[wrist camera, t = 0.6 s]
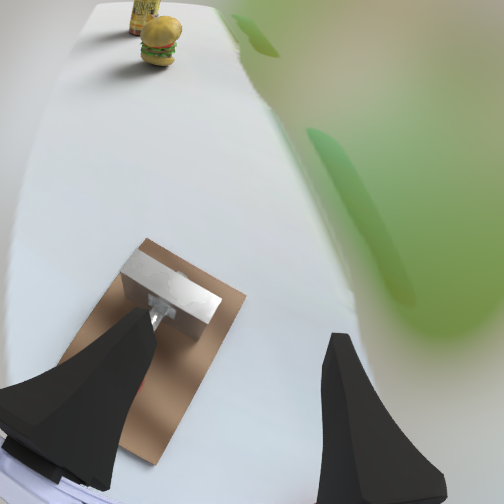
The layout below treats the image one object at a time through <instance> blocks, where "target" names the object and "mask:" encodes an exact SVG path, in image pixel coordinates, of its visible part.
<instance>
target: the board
mask: <svg viewBox="0 0 504 504" xmlns="http://www.w3.org/2000/svg"><path fill="white" fill-rule="evenodd" d="M138 249H139V250H140V251H142V252H143V253H145V254H147V255H148V256H150V257H152V258H153V259H155V260H157V261H158V262H160V263H162V264H163V265H165V266H167V267H168V268H170V269H172V270H173V271H175V272H177V271H179V272H182V273H183V274H185V275H186V276H187V278H188V279H189V280H190V281H192V282H194V283H195V284H197V285H199V286H201V287H202V288H204V289H206V290H208V291H209V292H211V293H213V294H215V295H216V296H218V297H220V298H222V300H221V302H220V304H219V305H218V307H217V309H216V311H215V313H214V314H213V316H212V318H211V320H210V322H209V323H208V325H207V327H206V329H205V331H204V332H203V334H202V336H201V338H200V339H199V341H198V342H197V341H196V340H194V339H192V338H190V337H189V336H187V335H185V334H183V333H182V332H180V331H178V330H176V329H175V328H173V327H171V326H170V325H168V324H166V323H165V322H163V321H161V323H160V324H159V326H158V327H157V329H156V331H155V332H154V333H155V337H156V340H157V346H156V349H155V353H154V356H153V359H152V362H151V364H150V367H149V369H148V371H147V373H146V377H145V383H144V386H143V388H142V390H141V392H140V393H139V394H138V395H137V396H136V397H135V398H134V400H133V403H132V405H131V407H130V409H129V412H128V414H127V417H126V421H125V424H124V427H123V430H122V433H121V437H120V441H119V444H118V445H120V446H122V447H123V448H125V449H127V450H128V451H130V452H132V453H134V454H135V455H137V456H139V457H141V458H143V459H144V460H146V461H148V462H150V463H152V464H154V465H157V463H158V461H159V459H160V457H161V456H162V454H163V452H164V450H165V448H166V447H167V445H168V443H169V441H170V439H171V437H172V436H173V434H174V432H175V430H176V428H177V426H178V425H179V423H180V421H181V419H182V417H183V415H184V413H185V412H186V410H187V408H188V406H189V404H190V402H191V400H192V399H193V397H194V395H195V393H196V391H197V389H198V387H199V386H200V384H201V382H202V380H203V378H204V376H205V374H206V372H207V371H208V369H209V367H210V365H211V363H212V361H213V359H214V357H215V355H216V354H217V352H218V350H219V348H220V346H221V344H222V342H223V340H224V338H225V336H226V335H227V333H228V331H229V329H230V327H231V325H232V323H233V321H234V319H235V317H236V316H237V314H238V312H239V310H240V308H241V306H242V304H243V302H244V300H245V298H246V296H247V295H245V294H243V293H241V292H239V291H238V290H236V289H234V288H232V287H230V286H229V285H227V284H225V283H223V282H222V281H220V280H218V279H216V278H215V277H213V276H211V275H209V274H208V273H206V272H204V271H202V270H201V269H199V268H197V267H195V266H194V265H192V264H190V263H189V262H187V261H185V260H183V259H182V258H180V257H178V256H177V255H175V254H173V253H171V252H170V251H168V250H166V249H165V248H163V247H161V246H160V245H158V244H156V243H155V242H153V241H151V240H150V239H148V238H146V239H145V241H144V242H143V243H142V244H141V246H140V247H139V248H138ZM135 307H138V308H140V307H139V306H137V305H136V304H134V303H133V302H131V301H130V300H128V299H126V297H125V293H124V288H123V284H122V279H121V274H120V273H119V275H118V276H117V277H116V279H115V280H114V281H113V283H112V284H111V286H110V287H109V288H108V290H107V291H106V293H105V294H104V295H103V297H102V298H101V300H100V301H99V302H98V304H97V305H96V307H95V308H94V310H93V311H92V312H91V314H90V315H89V317H88V318H87V320H86V321H85V323H84V324H83V326H82V327H81V329H80V330H79V332H78V333H77V335H76V336H75V338H74V339H73V341H72V342H71V344H70V346H69V347H68V349H67V350H66V352H65V353H64V355H63V357H62V358H61V360H60V361H59V363H58V365H60V364H61V363H63V362H65V361H66V360H68V359H69V358H71V357H73V356H74V355H76V354H77V353H79V352H80V351H81V350H83V349H84V348H85V347H87V346H88V345H89V344H91V343H92V342H93V341H95V340H96V339H97V338H99V337H100V336H101V335H102V334H104V333H105V332H106V331H107V330H108V329H110V328H111V327H112V326H113V325H115V324H116V323H117V322H118V321H119V320H120V319H122V318H123V317H124V316H125V315H126V314H128V313H129V312H130V311H131V310H133V309H134V308H135ZM58 365H57V366H58Z"/></svg>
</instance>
